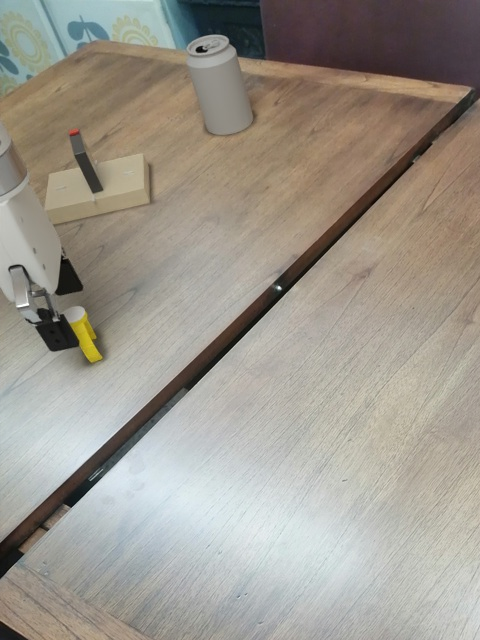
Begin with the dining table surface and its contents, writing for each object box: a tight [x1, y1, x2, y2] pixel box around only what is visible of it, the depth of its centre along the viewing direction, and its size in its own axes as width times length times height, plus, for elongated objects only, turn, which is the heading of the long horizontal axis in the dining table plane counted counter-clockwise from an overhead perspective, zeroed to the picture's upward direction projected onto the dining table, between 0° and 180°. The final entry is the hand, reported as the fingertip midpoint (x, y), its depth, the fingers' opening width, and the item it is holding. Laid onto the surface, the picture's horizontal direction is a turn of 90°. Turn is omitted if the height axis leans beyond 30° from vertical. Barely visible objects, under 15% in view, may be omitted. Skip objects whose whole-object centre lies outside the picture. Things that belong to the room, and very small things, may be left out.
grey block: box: [67, 127, 103, 193], centre depth 96 cm, size 7×2×6 cm, turn 22°
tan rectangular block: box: [43, 152, 151, 226], centre depth 99 cm, size 14×11×3 cm
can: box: [185, 34, 254, 136], centre depth 104 cm, size 8×8×12 cm
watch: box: [61, 305, 104, 364], centre depth 78 cm, size 6×3×6 cm, turn 24°
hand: (68, 318), depth 77 cm, fingers open, 9 cm apart
